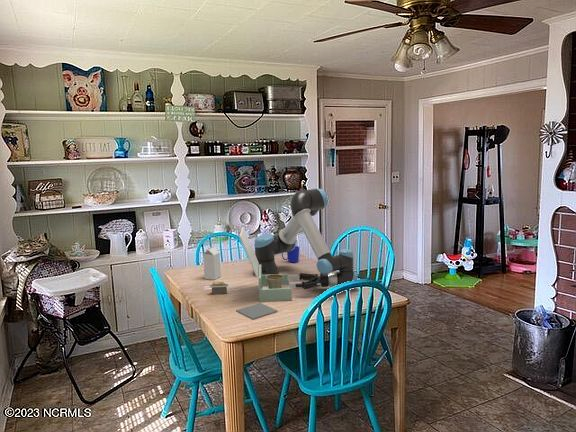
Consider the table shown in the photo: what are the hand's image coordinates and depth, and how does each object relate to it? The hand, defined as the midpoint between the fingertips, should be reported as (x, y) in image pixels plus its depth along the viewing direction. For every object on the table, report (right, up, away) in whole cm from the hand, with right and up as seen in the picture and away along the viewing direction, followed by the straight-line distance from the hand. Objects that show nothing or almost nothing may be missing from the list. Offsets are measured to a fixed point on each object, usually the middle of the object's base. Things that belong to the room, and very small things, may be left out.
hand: (288, 281), depth 233 cm
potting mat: (-15, -10, -25) cm, 31 cm away
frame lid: (-20, +17, -3) cm, 26 cm away
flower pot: (-7, -6, +1) cm, 9 cm away
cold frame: (-7, -6, +1) cm, 9 cm away
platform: (-37, -7, +2) cm, 37 cm away
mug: (+2, +4, +61) cm, 62 cm away
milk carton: (-45, -3, +31) cm, 55 cm away
